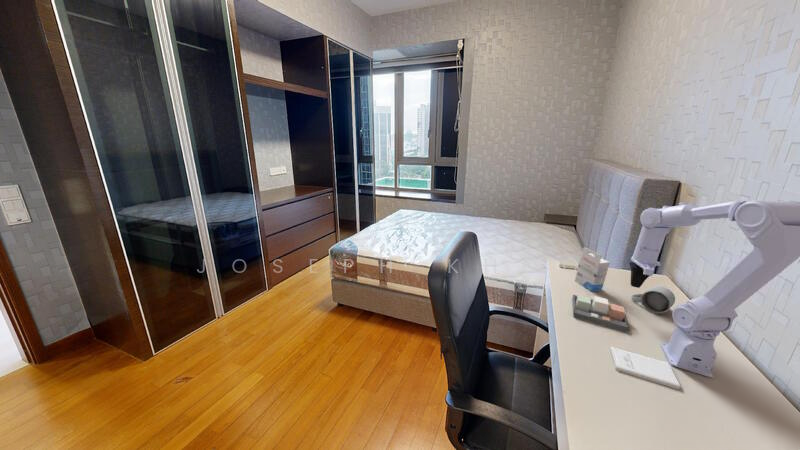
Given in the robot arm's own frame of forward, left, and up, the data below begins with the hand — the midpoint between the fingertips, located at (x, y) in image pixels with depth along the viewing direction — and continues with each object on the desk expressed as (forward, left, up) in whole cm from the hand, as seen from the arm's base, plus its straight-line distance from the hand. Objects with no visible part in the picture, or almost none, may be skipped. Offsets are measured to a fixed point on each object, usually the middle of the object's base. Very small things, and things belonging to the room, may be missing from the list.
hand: (634, 286), depth 92 cm
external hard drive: (-27, +1, -11) cm, 29 cm away
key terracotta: (-6, +4, -9) cm, 12 cm away
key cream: (-6, +9, -8) cm, 13 cm away
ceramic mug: (+9, -8, -10) cm, 16 cm away
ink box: (+14, +10, -10) cm, 20 cm away
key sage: (-6, +13, -9) cm, 17 cm away
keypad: (-6, +9, -10) cm, 14 cm away
